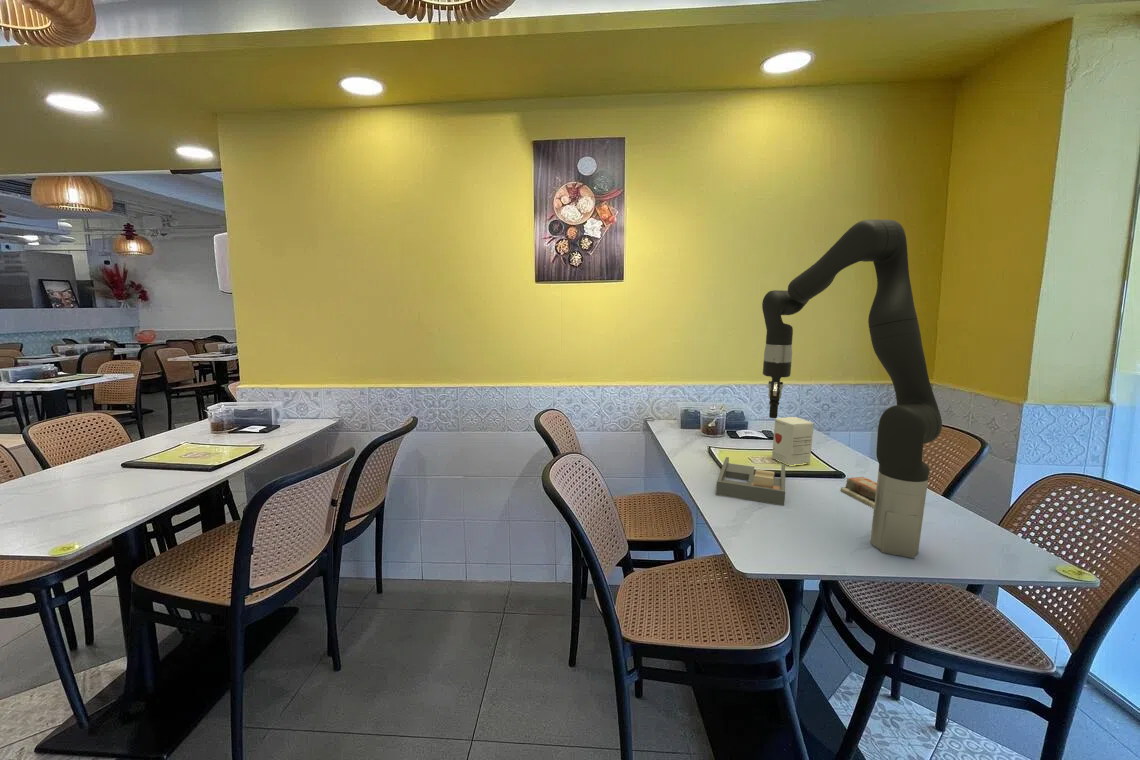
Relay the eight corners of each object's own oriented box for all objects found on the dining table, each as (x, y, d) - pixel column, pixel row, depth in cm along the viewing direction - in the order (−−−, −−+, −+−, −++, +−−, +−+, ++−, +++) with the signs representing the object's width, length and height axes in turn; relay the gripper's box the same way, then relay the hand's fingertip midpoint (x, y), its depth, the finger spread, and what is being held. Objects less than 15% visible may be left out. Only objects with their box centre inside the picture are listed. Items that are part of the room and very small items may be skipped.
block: (772, 492, 137) (773, 478, 136) (753, 489, 139) (754, 475, 138) (773, 485, 142) (774, 472, 142) (755, 482, 144) (756, 469, 144)
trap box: (784, 505, 133) (785, 491, 132) (715, 494, 140) (716, 481, 139) (784, 476, 155) (785, 464, 154) (725, 468, 162) (725, 457, 161)
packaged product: (840, 476, 143) (869, 474, 145) (838, 492, 144) (867, 489, 146) (891, 501, 126) (923, 498, 128) (889, 518, 127) (921, 515, 129)
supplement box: (770, 459, 172) (774, 417, 170) (791, 456, 175) (795, 416, 172) (789, 467, 164) (793, 424, 161) (810, 464, 166) (814, 422, 164)
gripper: (764, 356, 150) (760, 411, 152) (762, 361, 138) (758, 421, 140) (791, 358, 147) (786, 414, 149) (791, 363, 135) (787, 423, 137)
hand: (773, 417), depth 145 cm, fingers closed
